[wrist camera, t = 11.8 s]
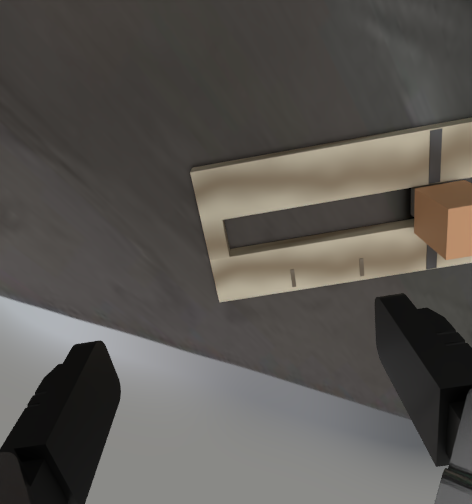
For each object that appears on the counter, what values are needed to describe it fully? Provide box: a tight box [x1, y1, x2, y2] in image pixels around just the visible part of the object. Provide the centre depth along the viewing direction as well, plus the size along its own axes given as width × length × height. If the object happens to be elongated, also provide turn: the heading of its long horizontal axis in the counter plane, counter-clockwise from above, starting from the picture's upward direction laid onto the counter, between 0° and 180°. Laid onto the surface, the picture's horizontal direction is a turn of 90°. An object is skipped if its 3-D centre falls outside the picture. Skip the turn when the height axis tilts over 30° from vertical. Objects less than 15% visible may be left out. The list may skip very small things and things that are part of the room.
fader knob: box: [411, 180, 472, 260], centre depth 34 cm, size 4×4×9 cm
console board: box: [190, 117, 472, 302], centre depth 38 cm, size 14×30×2 cm, turn 100°
